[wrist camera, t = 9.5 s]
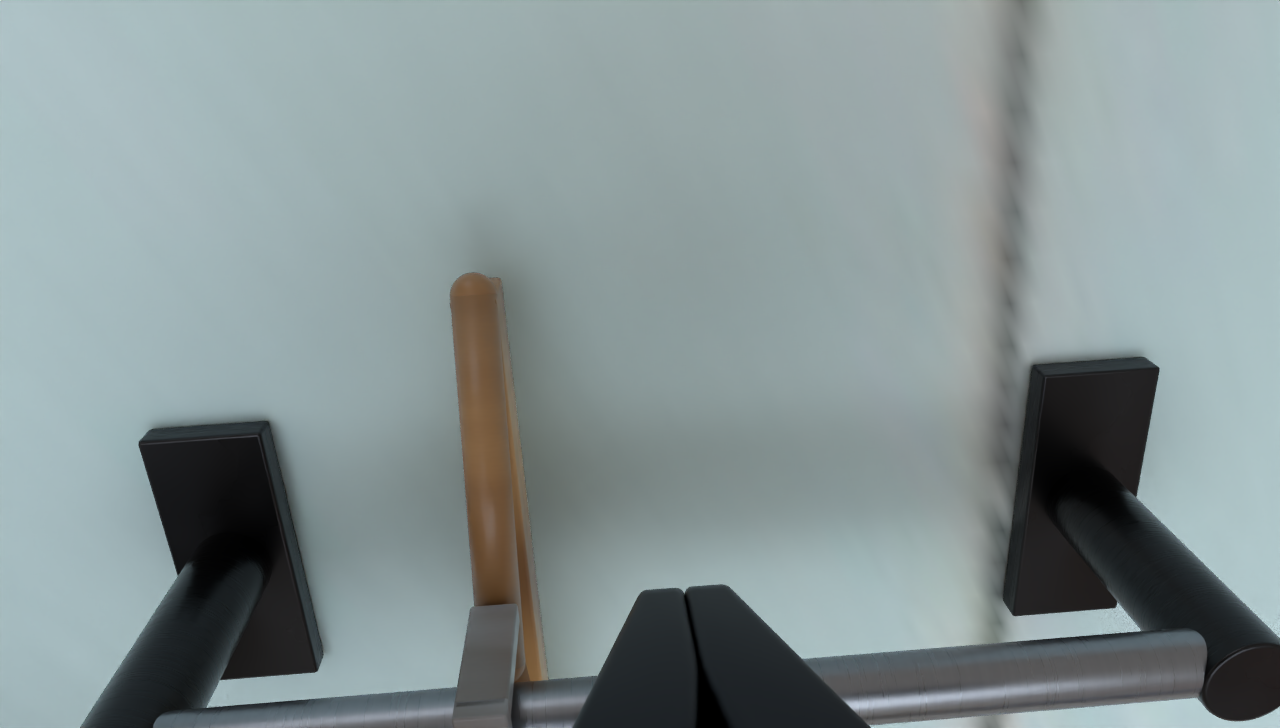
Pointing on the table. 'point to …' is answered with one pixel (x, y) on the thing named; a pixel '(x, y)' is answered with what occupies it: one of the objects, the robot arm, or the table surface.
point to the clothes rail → (869, 683)
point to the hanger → (493, 514)
